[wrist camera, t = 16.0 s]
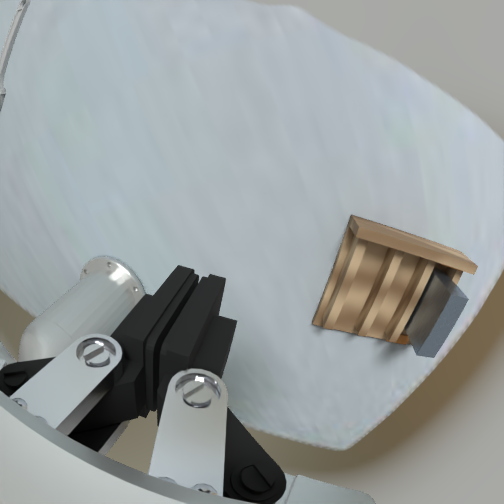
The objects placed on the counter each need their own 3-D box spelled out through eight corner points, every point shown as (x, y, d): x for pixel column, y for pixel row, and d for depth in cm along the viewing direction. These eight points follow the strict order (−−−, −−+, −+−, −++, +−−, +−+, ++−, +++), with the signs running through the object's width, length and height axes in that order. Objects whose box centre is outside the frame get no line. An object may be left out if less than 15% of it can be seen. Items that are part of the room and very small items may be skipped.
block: (416, 323, 38) (433, 357, 31) (400, 319, 38) (416, 355, 31) (442, 269, 35) (468, 299, 27) (426, 264, 35) (451, 294, 28)
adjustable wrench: (26, -1, 26) (21, -2, 24) (44, -3, 26) (38, -5, 24) (-13, 114, 36) (-19, 115, 34) (1, 119, 36) (-6, 120, 34)
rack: (414, 343, 41) (423, 363, 36) (311, 321, 41) (313, 343, 37) (461, 251, 34) (477, 266, 30) (351, 214, 35) (359, 226, 30)
